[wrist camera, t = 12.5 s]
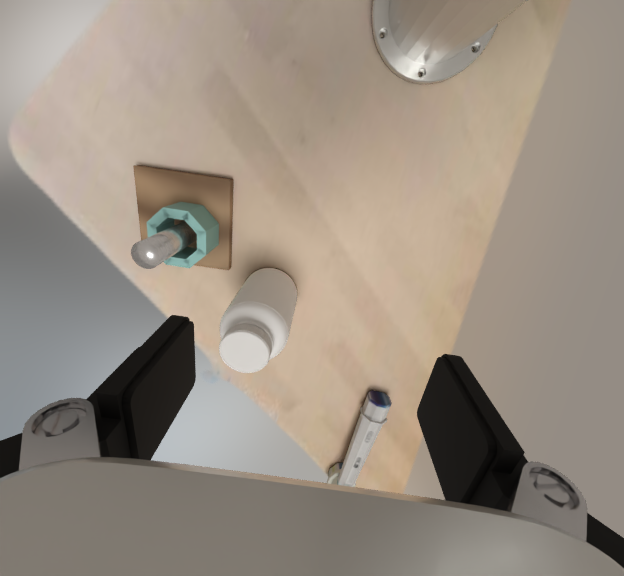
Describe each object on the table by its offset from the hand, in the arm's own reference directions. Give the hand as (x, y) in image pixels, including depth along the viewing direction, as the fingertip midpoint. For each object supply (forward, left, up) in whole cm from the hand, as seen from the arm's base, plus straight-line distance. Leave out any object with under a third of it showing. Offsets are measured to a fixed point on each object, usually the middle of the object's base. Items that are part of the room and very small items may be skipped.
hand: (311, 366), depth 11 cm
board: (+3, -18, -30) cm, 35 cm away
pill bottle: (+12, -6, -31) cm, 33 cm away
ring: (+4, -17, -29) cm, 34 cm away
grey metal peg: (+4, -17, -29) cm, 34 cm away
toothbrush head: (+40, +12, -31) cm, 52 cm away
